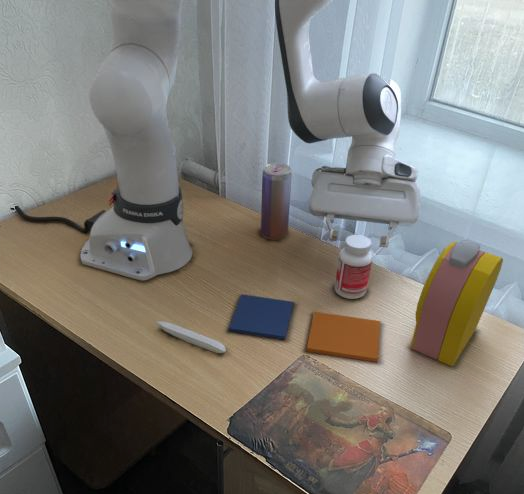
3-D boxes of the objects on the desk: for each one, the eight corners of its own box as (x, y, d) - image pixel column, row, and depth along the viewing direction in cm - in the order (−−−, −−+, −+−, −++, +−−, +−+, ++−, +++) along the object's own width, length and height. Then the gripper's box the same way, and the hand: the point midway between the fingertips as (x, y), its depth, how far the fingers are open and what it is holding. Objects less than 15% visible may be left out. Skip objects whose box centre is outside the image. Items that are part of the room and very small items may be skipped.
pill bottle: (372, 293, 103) (383, 244, 96) (348, 304, 101) (356, 254, 93) (351, 277, 107) (360, 228, 99) (327, 287, 104) (334, 237, 97)
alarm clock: (435, 308, 100) (463, 221, 88) (478, 325, 97) (513, 237, 84) (402, 352, 91) (428, 261, 79) (448, 372, 88) (483, 281, 75)
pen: (159, 324, 95) (158, 317, 93) (228, 351, 90) (227, 343, 89) (154, 330, 94) (153, 322, 92) (223, 356, 89) (223, 349, 88)
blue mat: (228, 331, 94) (228, 328, 93) (241, 297, 101) (241, 294, 100) (284, 340, 93) (285, 336, 92) (293, 305, 100) (293, 301, 99)
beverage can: (256, 237, 117) (258, 171, 106) (266, 224, 121) (269, 160, 111) (281, 243, 115) (286, 177, 105) (291, 230, 119) (296, 165, 109)
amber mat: (306, 351, 91) (306, 347, 90) (313, 314, 98) (313, 311, 97) (377, 362, 89) (378, 358, 89) (379, 324, 96) (380, 321, 96)
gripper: (313, 158, 98) (302, 232, 98) (426, 170, 96) (415, 246, 95) (314, 171, 105) (303, 240, 104) (420, 182, 102) (410, 254, 102)
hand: (358, 243), depth 100 cm, fingers open, 8 cm apart
